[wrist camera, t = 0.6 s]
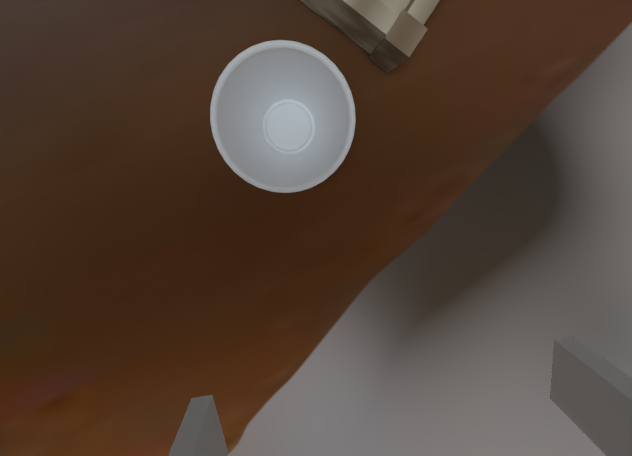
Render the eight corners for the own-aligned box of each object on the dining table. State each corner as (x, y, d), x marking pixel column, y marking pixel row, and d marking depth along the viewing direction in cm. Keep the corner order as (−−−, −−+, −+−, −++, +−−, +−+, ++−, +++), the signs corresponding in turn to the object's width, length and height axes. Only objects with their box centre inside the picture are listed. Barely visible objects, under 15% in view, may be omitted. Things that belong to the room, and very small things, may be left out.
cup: (327, 64, 31) (342, 24, 21) (345, 166, 34) (366, 177, 23) (227, 85, 31) (190, 56, 21) (252, 185, 34) (231, 205, 23)
